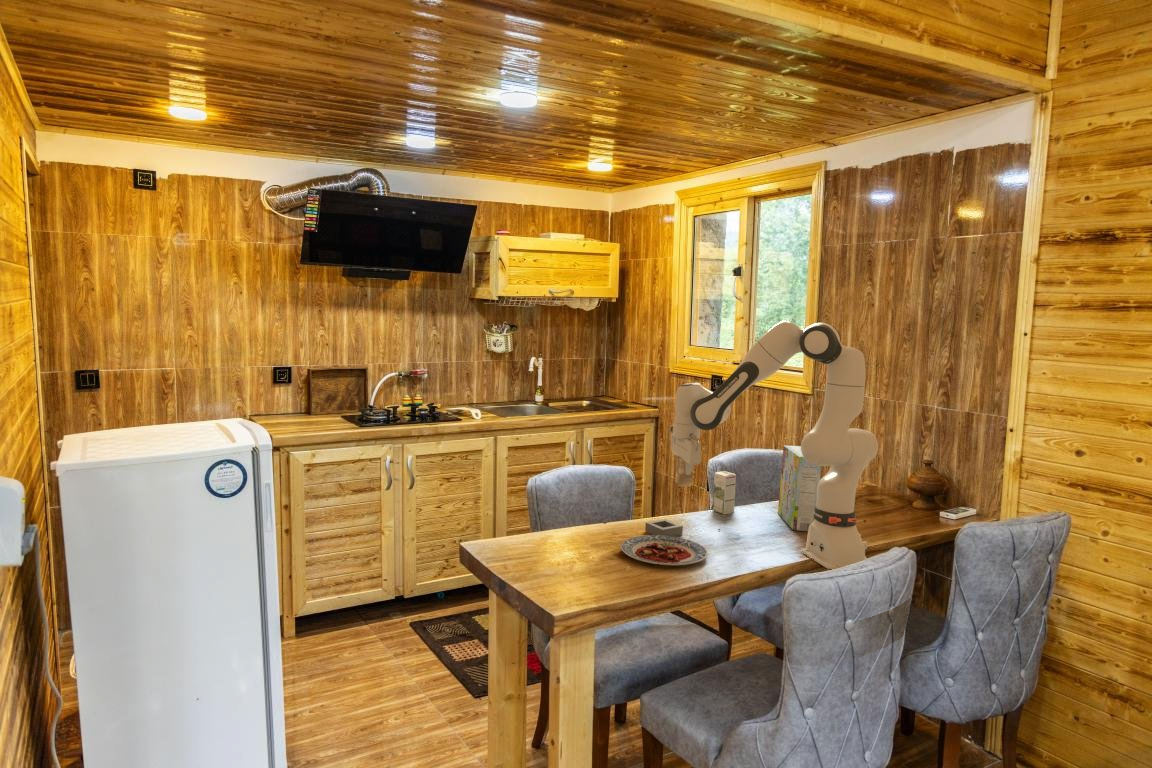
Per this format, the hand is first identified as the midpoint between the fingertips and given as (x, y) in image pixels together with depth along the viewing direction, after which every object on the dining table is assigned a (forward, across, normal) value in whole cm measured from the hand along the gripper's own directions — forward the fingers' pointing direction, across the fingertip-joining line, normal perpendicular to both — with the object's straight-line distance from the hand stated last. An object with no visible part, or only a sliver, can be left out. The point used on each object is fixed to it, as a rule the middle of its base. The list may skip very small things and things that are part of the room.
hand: (684, 472), depth 246 cm
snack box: (+20, +4, -44) cm, 48 cm away
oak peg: (+4, 0, 0) cm, 4 cm away
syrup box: (+20, +18, -22) cm, 35 cm away
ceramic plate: (+20, -24, +14) cm, 34 cm away
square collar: (+19, -4, +7) cm, 21 cm away
